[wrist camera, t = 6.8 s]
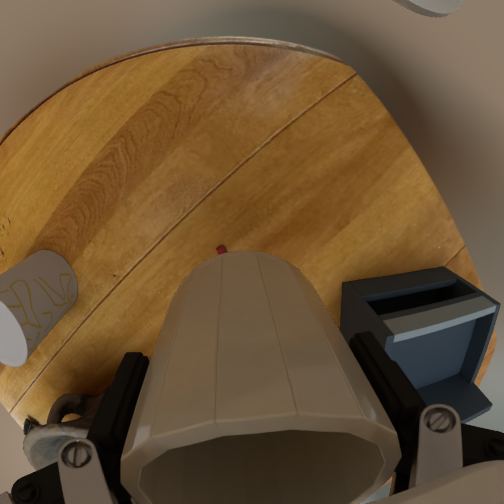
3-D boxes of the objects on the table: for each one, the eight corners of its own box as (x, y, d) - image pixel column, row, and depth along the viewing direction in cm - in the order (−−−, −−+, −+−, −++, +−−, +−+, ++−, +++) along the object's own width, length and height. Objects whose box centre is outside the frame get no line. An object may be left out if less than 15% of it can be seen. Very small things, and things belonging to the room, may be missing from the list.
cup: (84, 312, 32) (39, 372, 21) (35, 309, 32) (-14, 360, 20) (70, 248, 30) (10, 292, 18) (21, 250, 29) (-40, 289, 18)
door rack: (443, 266, 34) (527, 323, 19) (429, 341, 38) (489, 410, 22) (342, 282, 33) (411, 369, 18) (336, 364, 37) (380, 458, 22)
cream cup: (319, 243, 13) (438, 378, 5) (314, 368, 15) (367, 513, 7) (158, 257, 13) (69, 412, 4) (185, 379, 15) (165, 532, 6)
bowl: (245, 457, 43) (251, 531, 28) (109, 460, 42) (93, 521, 28) (201, 336, 34) (189, 437, 20) (34, 352, 34) (-15, 419, 20)
